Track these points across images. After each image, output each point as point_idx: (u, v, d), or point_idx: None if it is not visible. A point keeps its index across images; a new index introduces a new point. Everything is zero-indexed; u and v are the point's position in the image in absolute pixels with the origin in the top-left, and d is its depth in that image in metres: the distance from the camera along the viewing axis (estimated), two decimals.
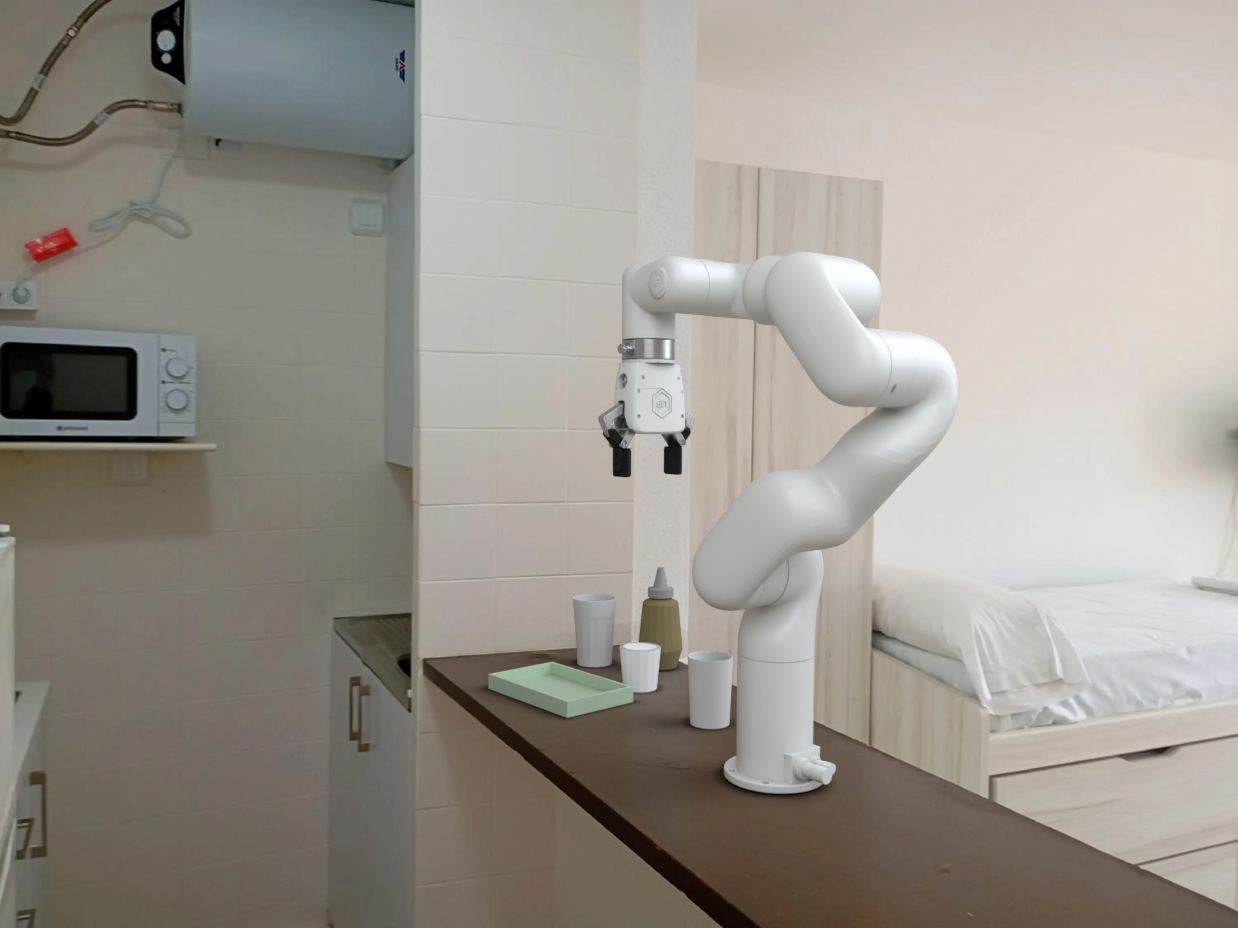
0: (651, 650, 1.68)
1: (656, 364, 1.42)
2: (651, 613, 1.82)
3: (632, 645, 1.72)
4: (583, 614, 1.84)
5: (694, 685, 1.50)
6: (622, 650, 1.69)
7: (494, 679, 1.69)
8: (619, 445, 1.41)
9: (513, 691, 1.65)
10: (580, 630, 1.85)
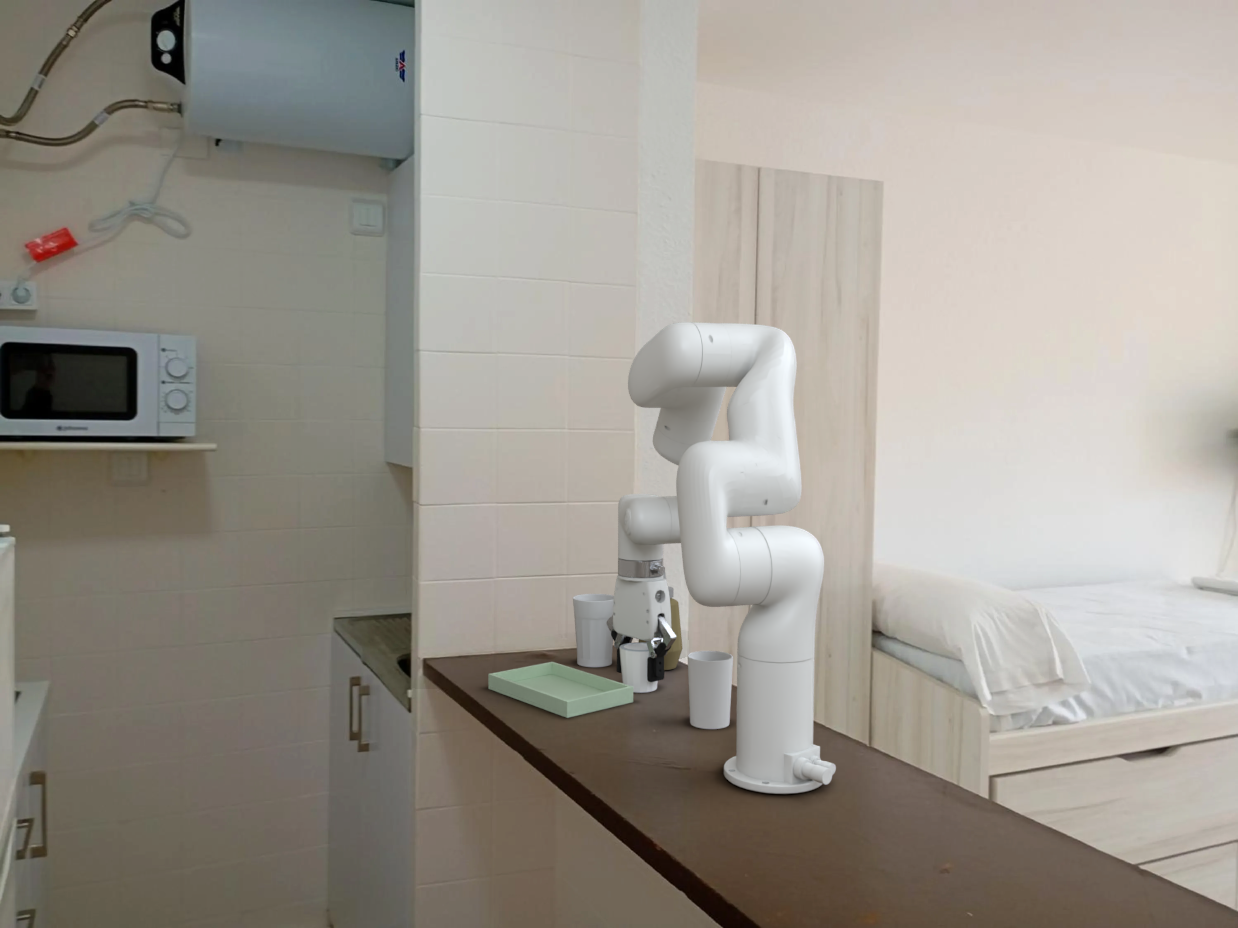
0: None
1: None
2: None
3: (632, 645, 1.72)
4: (583, 614, 1.84)
5: (694, 685, 1.50)
6: (622, 650, 1.69)
7: (494, 679, 1.69)
8: (664, 655, 1.68)
9: (513, 691, 1.65)
10: (580, 630, 1.85)
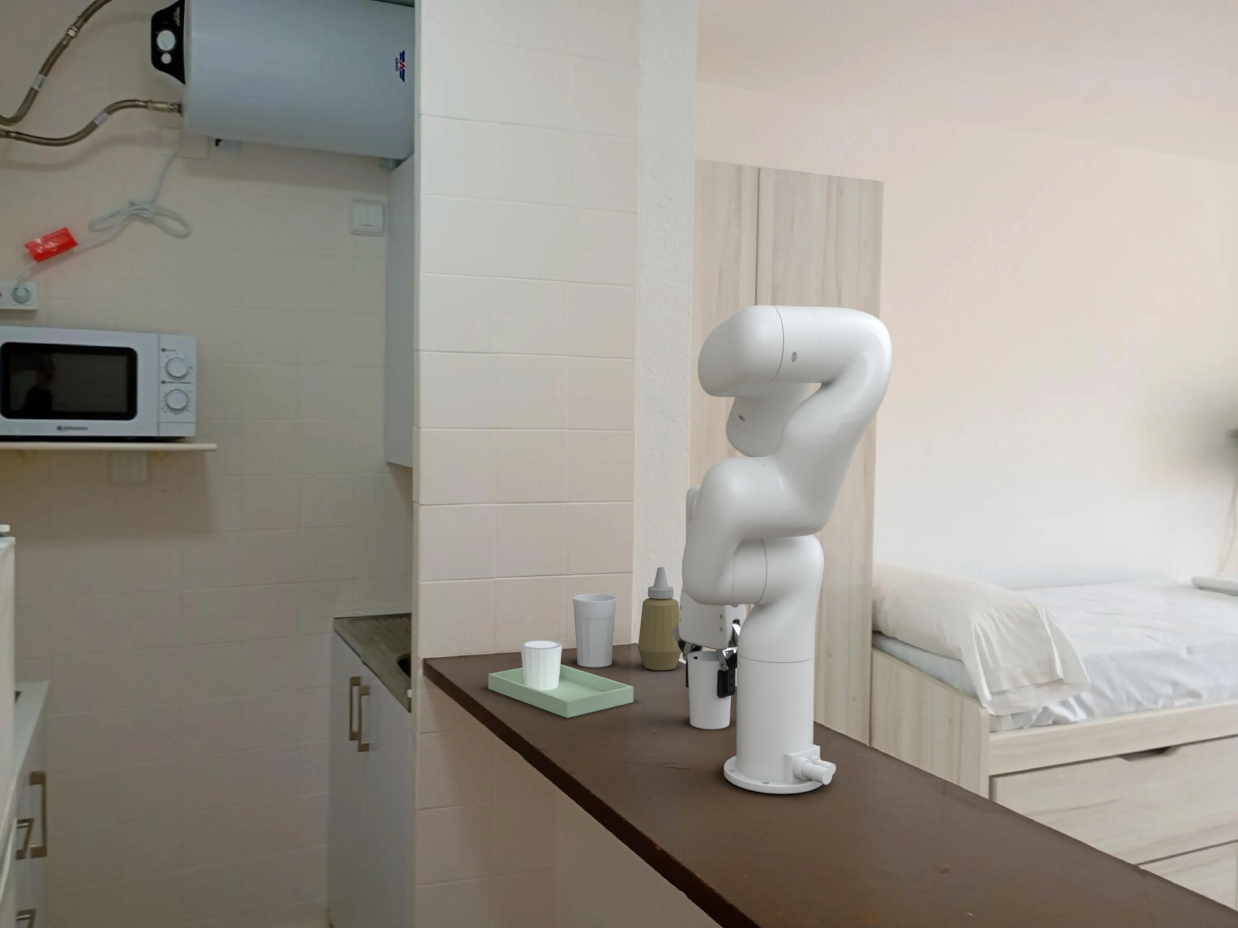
0: (551, 648, 1.67)
1: None
2: (651, 613, 1.82)
3: (534, 643, 1.71)
4: (583, 614, 1.84)
5: (694, 685, 1.50)
6: (522, 648, 1.68)
7: (494, 679, 1.69)
8: (736, 667, 1.49)
9: (513, 691, 1.65)
10: (580, 630, 1.85)
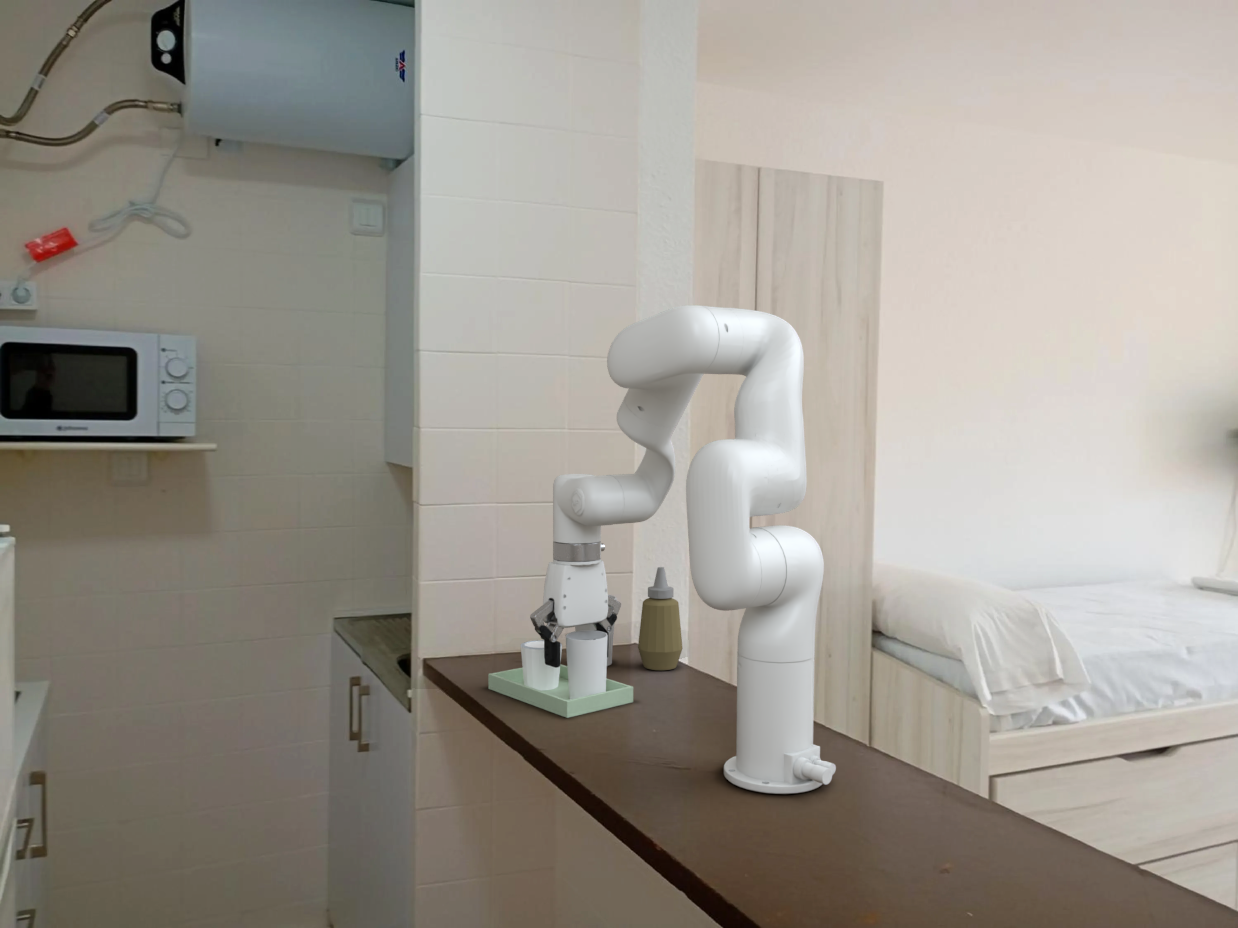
0: None
1: None
2: (651, 613, 1.82)
3: (534, 643, 1.71)
4: None
5: (599, 663, 1.60)
6: (522, 648, 1.68)
7: (494, 679, 1.69)
8: None
9: (513, 691, 1.65)
10: (580, 630, 1.85)
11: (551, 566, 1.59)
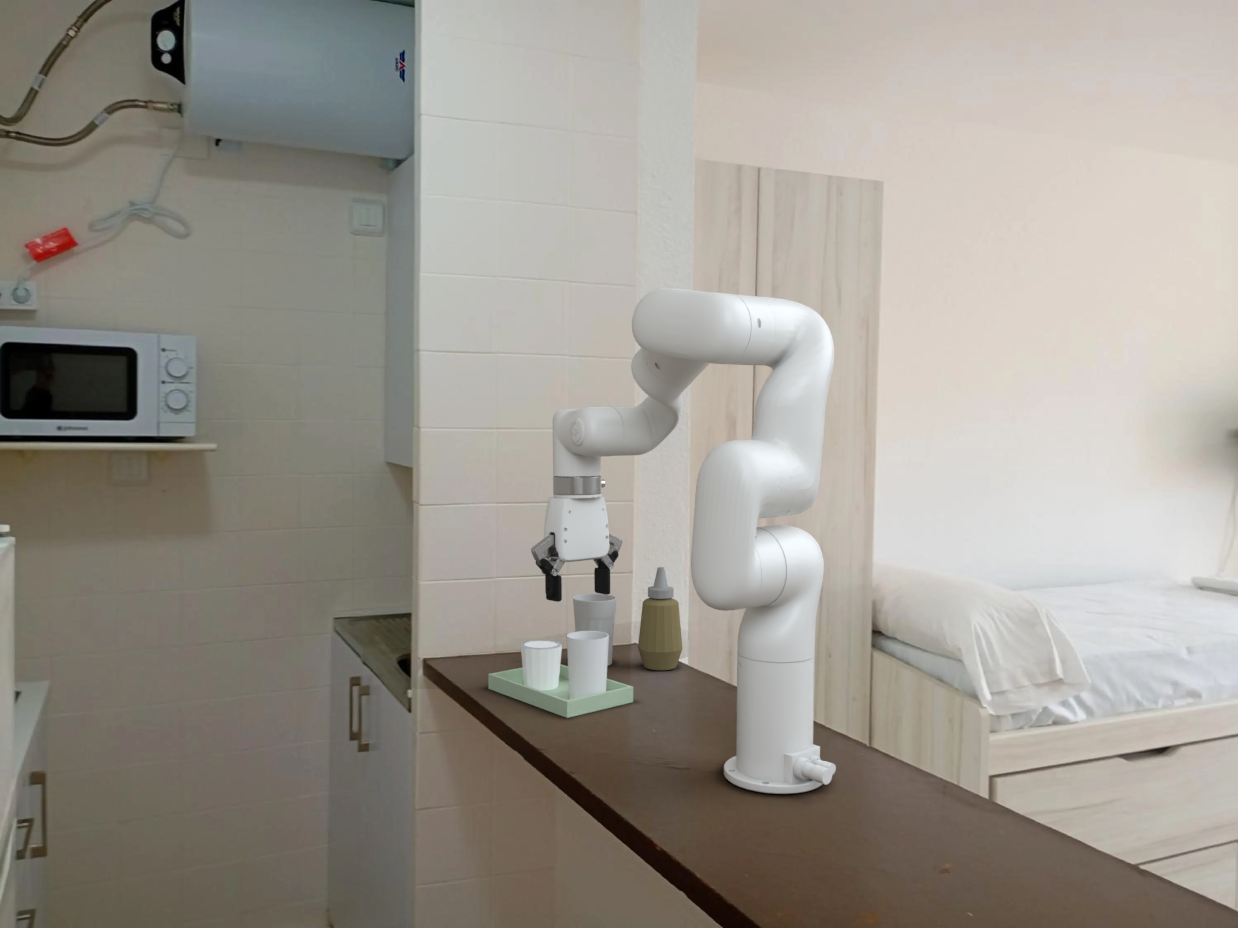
0: (551, 648, 1.67)
1: None
2: (651, 613, 1.82)
3: (534, 643, 1.71)
4: (583, 614, 1.84)
5: (599, 663, 1.60)
6: (522, 648, 1.68)
7: (494, 679, 1.69)
8: None
9: (513, 691, 1.65)
10: (580, 630, 1.85)
11: (551, 500, 1.59)
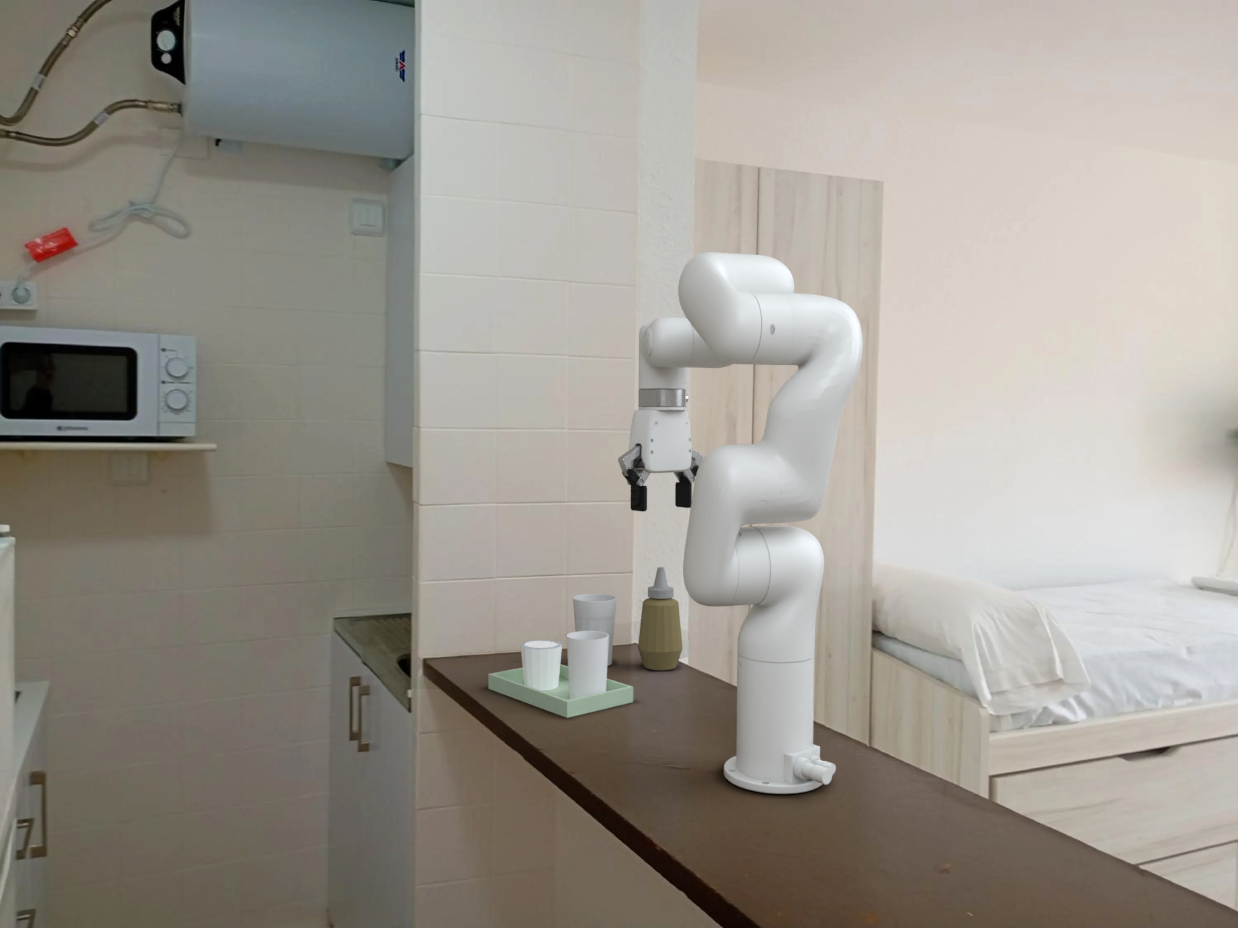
0: (551, 648, 1.67)
1: None
2: (651, 613, 1.82)
3: (534, 643, 1.71)
4: (583, 614, 1.84)
5: (599, 663, 1.60)
6: (522, 648, 1.68)
7: (494, 679, 1.69)
8: None
9: (513, 691, 1.65)
10: (580, 630, 1.85)
11: (638, 412, 1.61)
